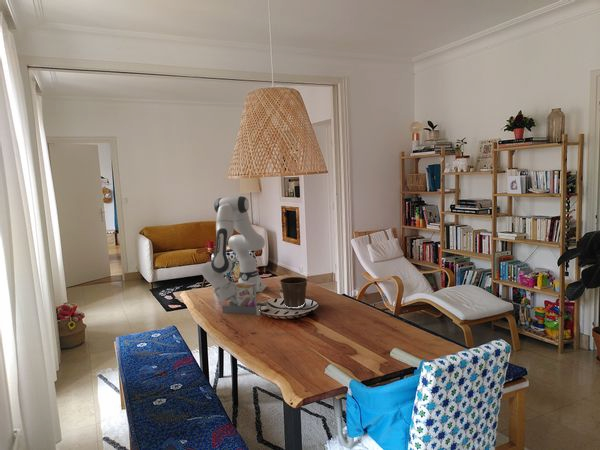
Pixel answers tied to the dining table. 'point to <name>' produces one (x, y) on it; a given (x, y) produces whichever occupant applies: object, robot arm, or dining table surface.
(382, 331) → the dining table surface
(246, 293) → the candy bar box
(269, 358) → the dining table surface
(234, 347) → the dining table surface
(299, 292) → the plant pot
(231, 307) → the chute
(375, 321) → the dining table surface
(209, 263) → the robot arm
